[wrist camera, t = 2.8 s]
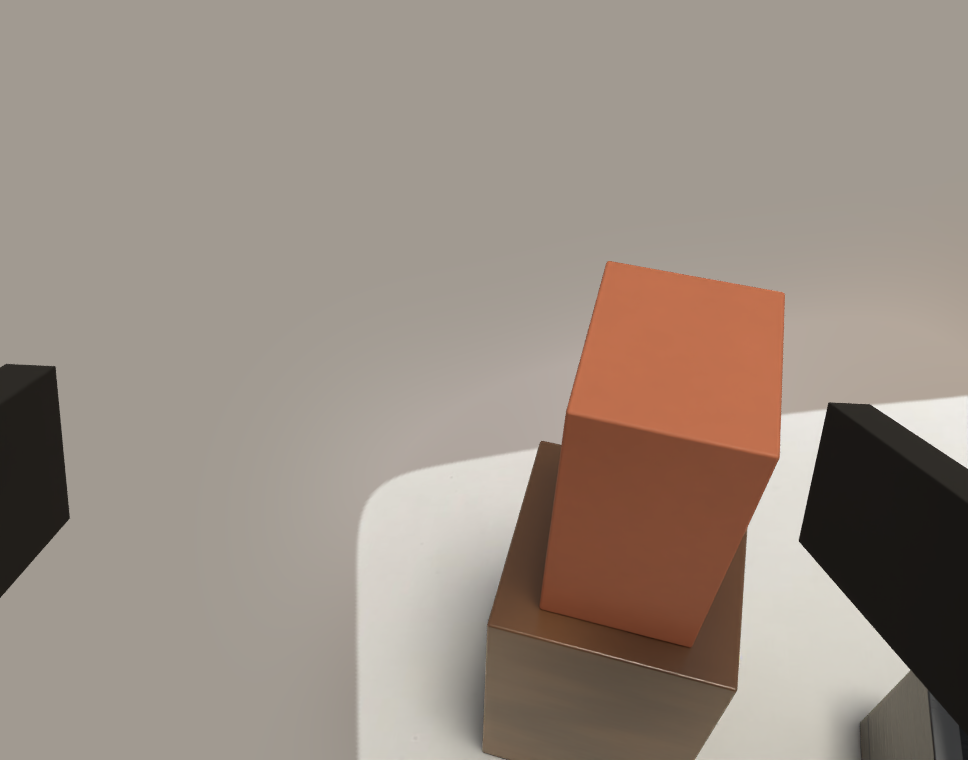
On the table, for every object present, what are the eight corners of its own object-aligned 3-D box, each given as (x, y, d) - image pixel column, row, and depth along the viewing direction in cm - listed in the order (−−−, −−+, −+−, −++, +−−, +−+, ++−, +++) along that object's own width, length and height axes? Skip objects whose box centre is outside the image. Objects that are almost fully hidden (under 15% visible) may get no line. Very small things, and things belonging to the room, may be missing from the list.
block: (538, 609, 27) (565, 412, 19) (573, 468, 31) (606, 259, 23) (691, 648, 26) (780, 458, 19) (707, 498, 30) (785, 291, 23)
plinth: (481, 752, 35) (486, 625, 26) (524, 590, 40) (540, 439, 32) (667, 806, 34) (737, 691, 25) (686, 631, 39) (750, 485, 30)
